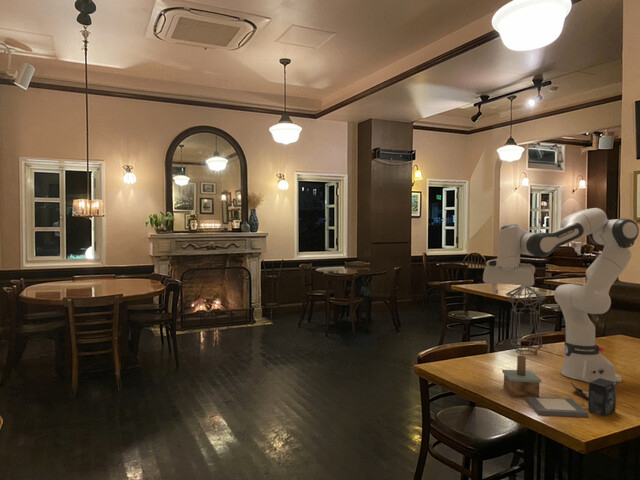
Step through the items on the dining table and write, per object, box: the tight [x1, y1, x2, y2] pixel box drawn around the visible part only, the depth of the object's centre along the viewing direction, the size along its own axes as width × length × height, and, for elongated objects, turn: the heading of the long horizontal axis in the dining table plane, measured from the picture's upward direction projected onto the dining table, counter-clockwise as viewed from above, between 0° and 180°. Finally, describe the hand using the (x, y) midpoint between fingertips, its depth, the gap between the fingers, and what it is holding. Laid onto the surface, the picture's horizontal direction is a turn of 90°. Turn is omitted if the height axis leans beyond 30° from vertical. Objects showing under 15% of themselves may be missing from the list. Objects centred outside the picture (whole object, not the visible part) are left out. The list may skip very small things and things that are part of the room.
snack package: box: [570, 381, 589, 400], centre depth 174 cm, size 12×6×12 cm
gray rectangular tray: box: [525, 396, 589, 418], centre depth 162 cm, size 16×13×2 cm
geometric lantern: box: [505, 285, 547, 356], centre depth 233 cm, size 16×16×35 cm
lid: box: [501, 355, 542, 383], centre depth 178 cm, size 11×11×8 cm
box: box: [587, 378, 617, 417], centre depth 160 cm, size 8×6×11 cm
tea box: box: [502, 373, 540, 398], centre depth 178 cm, size 10×10×6 cm
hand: (507, 294), depth 196 cm, fingers open, 8 cm apart
